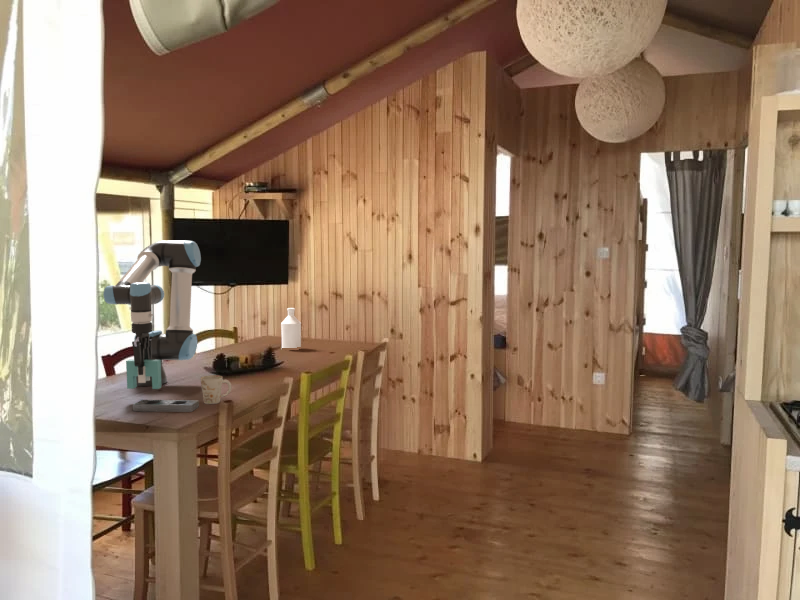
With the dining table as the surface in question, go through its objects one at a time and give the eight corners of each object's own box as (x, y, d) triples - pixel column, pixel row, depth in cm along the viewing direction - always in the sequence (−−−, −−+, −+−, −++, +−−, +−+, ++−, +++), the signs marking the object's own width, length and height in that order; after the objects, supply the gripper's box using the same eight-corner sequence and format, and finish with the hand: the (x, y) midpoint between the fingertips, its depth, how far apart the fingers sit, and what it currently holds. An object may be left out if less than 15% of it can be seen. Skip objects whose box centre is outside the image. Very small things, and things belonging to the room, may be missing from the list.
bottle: (294, 347, 401) (294, 307, 399) (305, 349, 392) (304, 308, 390) (277, 349, 393) (277, 308, 391) (287, 351, 384) (287, 309, 382)
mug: (197, 402, 255) (196, 377, 255) (225, 397, 264) (225, 373, 263) (207, 405, 250) (206, 380, 249) (236, 400, 258) (236, 375, 258)
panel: (127, 388, 254) (126, 360, 253) (130, 386, 257) (129, 359, 256) (158, 389, 254) (157, 361, 252) (161, 387, 257) (160, 359, 255)
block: (132, 411, 241) (132, 404, 241) (142, 406, 249) (142, 399, 249) (191, 411, 240) (191, 405, 240) (198, 406, 248) (198, 400, 248)
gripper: (142, 325, 245) (144, 386, 247) (159, 319, 261) (161, 377, 263) (122, 325, 245) (125, 386, 247) (141, 319, 261) (143, 376, 263)
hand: (144, 381), depth 255 cm, fingers closed on panel, 3 cm apart
